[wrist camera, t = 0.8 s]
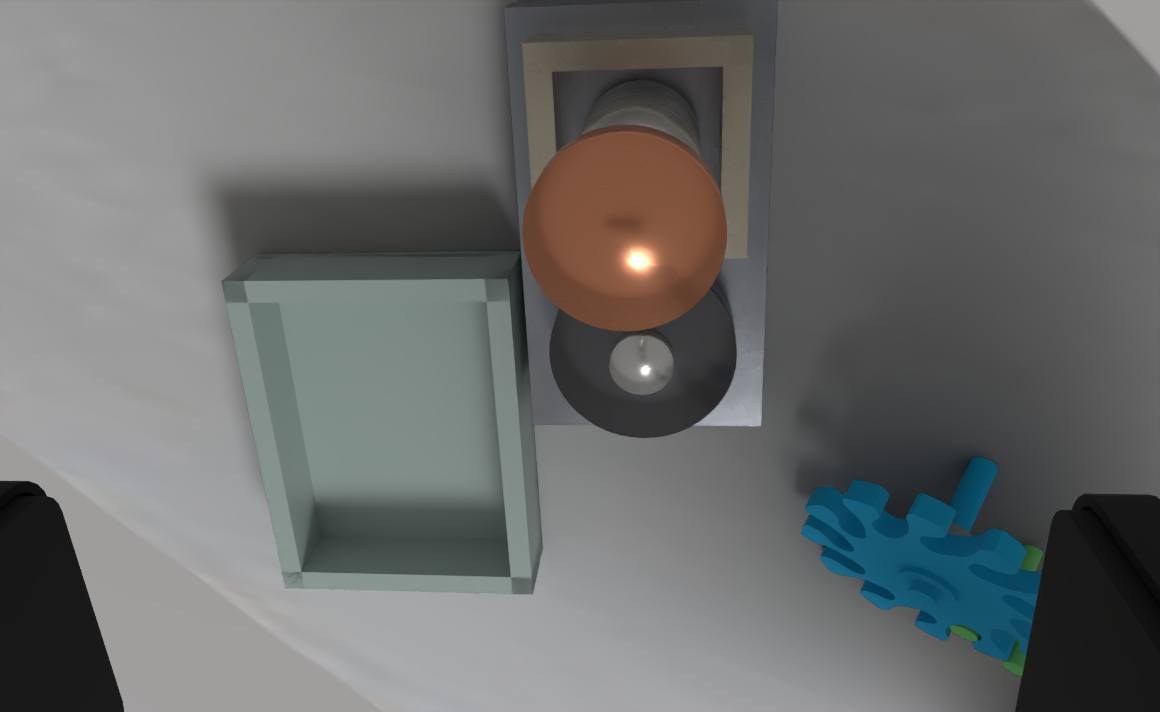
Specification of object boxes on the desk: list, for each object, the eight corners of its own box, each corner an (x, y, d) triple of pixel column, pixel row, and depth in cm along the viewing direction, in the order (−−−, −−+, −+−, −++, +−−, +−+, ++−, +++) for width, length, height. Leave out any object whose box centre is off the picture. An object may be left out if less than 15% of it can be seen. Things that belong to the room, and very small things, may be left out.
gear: (743, 500, 36) (977, 531, 28) (813, 381, 38) (1049, 376, 30) (896, 657, 40) (1139, 725, 32) (951, 542, 43) (1192, 577, 34)
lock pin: (711, 208, 30) (725, 331, 21) (573, 210, 31) (529, 331, 22) (713, 64, 28) (729, 131, 19) (566, 69, 29) (515, 136, 20)
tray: (542, 548, 40) (532, 594, 37) (311, 543, 41) (285, 587, 38) (521, 250, 35) (508, 278, 32) (256, 253, 36) (221, 281, 33)
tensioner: (754, 387, 36) (767, 464, 31) (544, 387, 37) (522, 461, 32) (769, -10, 30) (787, 4, 25) (519, 0, 31) (487, 15, 26)
